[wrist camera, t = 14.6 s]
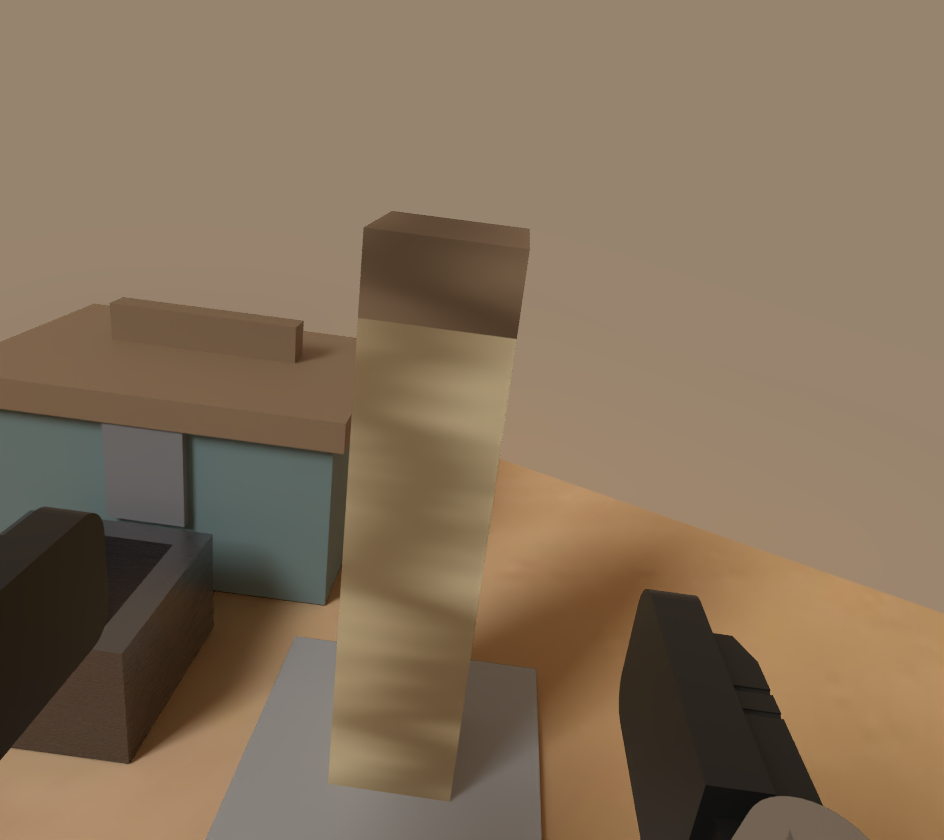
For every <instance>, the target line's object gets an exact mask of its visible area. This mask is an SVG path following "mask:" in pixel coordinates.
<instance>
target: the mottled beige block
mask: <svg viewBox="0 0 944 840" xmlns="http://www.w3.org/2000/svg"><path fill="white" fill-rule="evenodd" d="M529 235H530V233H529V229H526V228H518V227H510V226H503V225H495V224H486V223H479V222H472V221H464V220H456V219H449V218H441V217H434V216H426V215H418V214H411V213H403V212H395V211H391V212H390V213H388V214H386V215H384V216H383V217H381V218H379V219H378V220H376V221H374V222H373V223H371V224H369V225H367V226H366V227H364V232H363V247H362V263H361V278H360V279H361V280H360V295H359V310H358V325H357V341H356V356H355V372H354V387H353V403H352V418H351V434H350V450H349V465H348V481H347V496H346V512H345V527H344V543H343V559H342V574H341V590H340V605H339V621H338V636H337V652H336V667H335V683H334V699H333V714H332V730H331V745H330V761H329V776H328V784H333V785H340V786H346V787H353V788H360V789H367V790H373V791H380V792H387V793H394V794H400V795H407V796H414V797H420V798H427V799H434V800H441V801H447V802H450V797H451V790H452V783H453V776H454V769H455V763H456V756H457V749H458V742H459V735H460V728H461V721H462V714H463V707H464V700H465V693H466V686H467V679H468V672H469V666H470V659H471V652H472V645H473V638H474V631H475V624H476V617H477V610H478V603H479V596H480V589H481V582H482V575H483V569H484V562H485V555H486V548H487V541H488V534H489V527H490V520H491V513H492V506H493V499H494V492H495V485H496V479H497V472H498V465H499V458H500V451H501V443H502V437H503V430H504V423H505V416H506V409H507V402H508V395H509V388H510V382H511V374H512V367H513V361H514V353H515V347H516V339H517V333H518V326H519V319H520V312H521V305H522V298H523V291H524V285H525V277H526V270H527V264H528V257H529V249H530V247H529V245H530V243H529V241H530V236H529Z"/></svg>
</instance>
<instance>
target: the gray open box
mask: <svg viewBox="0 0 944 840" xmlns="http://www.w3.org/2000/svg"><path fill="white" fill-rule="evenodd" d="M34 511H35V510H30V511H29V512H27V513H26V514H25V515H23V516H22V517H21V518H20V519H18V520H17V521H16V522H14V523H13V524H12V525H11V526H9V527H8V528H7V529H5V530H4V531H3V532H2V533H0V535H4V534H6V533H7V532H8V531H9V530H11V529H12V528H13V527H15V526H16V525H17V524H18V523H20V522H21V521H22V520H24V519H25V518H26V517H27V516H29V515H30V514H31V513H33V512H34ZM102 521H103V525H104V533H105V549H106V565H107V580H108V596H109V609H108V616H107V620H106V624H105V627H104V630H103V632H102V634H101V637H100V639H99V640H98V642H97V644H96V645H95V646H94V648H93V649H92V650H91V651H90V653H89V654H88V655H87V656H86V657H85V659H84V660H83V661H82V662H81V663H80V665H79V666H78V667H77V668H76V670H75V671H74V672H73V673H72V674H71V676H70V677H69V678H68V679H67V680H66V682H65V683H64V684H63V685H62V686H61V688H60V689H59V690H58V691H57V692H56V694H55V695H54V696H53V697H52V698H51V700H50V701H49V702H48V703H47V705H46V706H45V707H44V708H43V709H42V711H41V712H40V713H39V714H38V715H37V717H36V718H35V719H34V720H33V721H32V723H31V724H30V725H29V726H28V727H27V729H26V730H25V731H24V732H23V733H22V735H21V736H20V737H19V738H18V740H17V741H16V742H15V743H14V744H13V746H12V747H11V748H18V749H25V750H33V751H40V752H47V753H55V754H62V755H69V756H76V757H84V758H91V759H98V760H105V761H113V762H120V763H127V764H129V763H130V761H131V759H132V758H133V756H134V755H135V753H136V751H137V750H138V748H139V746H140V745H141V743H142V742H143V740H144V738H145V737H146V735H147V733H148V732H149V730H150V729H151V727H152V725H153V724H154V722H155V720H156V719H157V717H158V716H159V714H160V712H161V711H162V709H163V707H164V706H165V704H166V703H167V701H168V699H169V698H170V696H171V695H172V693H173V691H174V690H175V688H176V686H177V685H178V683H179V682H180V680H181V678H182V677H183V675H184V673H185V672H186V670H187V669H188V667H189V665H190V664H191V662H192V660H193V659H194V657H195V656H196V654H197V652H198V651H199V649H200V647H201V646H202V644H203V643H204V641H205V639H206V638H207V636H208V634H209V633H210V631H211V630H212V628H213V534H208V533H201V532H193V531H186V530H178V529H171V528H163V527H156V526H148V525H141V524H134V523H126V522H119V521H111V520H104V519H102Z"/></svg>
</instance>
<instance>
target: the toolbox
mask: <svg viewBox="0 0 944 840" xmlns="http://www.w3.org/2000/svg"><path fill="white" fill-rule="evenodd" d="M303 322H304V321H301V320H293V319H285V318H277V317H270V316H261V315H255V314H247V313H240V312H232V311H224V310H217V309H209V308H201V307H194V306H186V305H178V304H170V303H163V302H155V301H148V300H139V299H132V298H125V297H123V298H121V299H118V300H116V301H114V302H112V303H110V306H107V305H100V304H92V305H90V306H88V307H85V308H83V309H80V310H78V311H75V312H73V313H70V314H68V315H66V316H63V317H60V318H58V319H56V320H53V321H51V322H48V323H46V324H43V325H41V326H39V327H36V328H34V329H31V330H29V331H26V332H24V333H21V334H19V335H16V336H14V337H11V338H9V339H7V340H4V341H2V342H0V533H2V532H3V531H4V530H5V529H7V528H8V527H9V526H11V525H12V524H13V523H14V522H16V521H17V520H18V519H20V518H21V517H22V516H23V515H25V514H26V513H27V512H29V511H30V510H37V509H38V508H41V507H53V508H61V509H68V510H76V511H83V512H90V513H96V514H98V515H99V516H100V517H101V519H104V520H111V521H119V522H126V523H134V524H141V525H148V526H156V527H163V528H171V529H178V530H186V531H193V532H201V533H208V534H213V590H216V591H223V592H231V593H238V594H245V595H253V596H260V597H268V598H275V599H282V600H290V601H297V602H305V603H312V604H319V605H325V603H326V601H327V598H328V596H329V593H330V591H331V588H332V586H333V583H334V581H335V579H336V576H337V574H338V571H339V569H340V566H341V564H342V559H343V543H344V527H345V512H346V496H347V481H348V465H349V450H350V434H351V418H352V403H353V387H354V372H355V356H356V341H357V338H351V337H345V336H337V335H328V334H322V333H314V332H305V331H303Z"/></svg>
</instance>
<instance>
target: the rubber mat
mask: <svg viewBox="0 0 944 840" xmlns="http://www.w3.org/2000/svg"><path fill="white" fill-rule="evenodd" d="M336 652H337V642H334V641H327V640H320V639H312V638H305V637H297V636H295V638H294V641H293V643H292V645H291V647H290V650H289V652H288V654H287V657H286V659H285V661H284V663H283V666H282V668H281V670H280V672H279V675H278V677H277V679H276V681H275V684H274V686H273V688H272V691H271V693H270V695H269V697H268V700H267V702H266V704H265V706H264V709H263V711H262V713H261V715H260V718H259V720H258V722H257V724H256V727H255V729H254V731H253V734H252V736H251V738H250V740H249V743H248V745H247V747H246V749H245V752H244V754H243V756H242V758H241V761H240V763H239V765H238V767H237V770H236V772H235V774H234V777H233V779H232V781H231V783H230V786H229V788H228V790H227V792H226V795H225V797H224V799H223V801H222V804H221V806H220V808H219V810H218V813H217V815H216V817H215V820H214V822H213V824H212V826H211V829H210V831H209V833H208V835H207V838H206V840H542V836H541V805H540V774H539V742H538V711H537V680H536V669H534V668H526V667H519V666H512V665H504V664H497V663H489V662H482V661H475V660H470V666H469V672H468V679H467V686H466V693H465V700H464V707H463V714H462V721H461V728H460V735H459V742H458V749H457V756H456V763H455V769H454V776H453V783H452V790H451V797H450V802H447V801H441V800H434V799H427V798H420V797H414V796H407V795H400V794H394V793H387V792H380V791H373V790H367V789H360V788H353V787H346V786H340V785H333V784H328V776H329V761H330V745H331V730H332V714H333V699H334V683H335V667H336Z"/></svg>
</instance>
